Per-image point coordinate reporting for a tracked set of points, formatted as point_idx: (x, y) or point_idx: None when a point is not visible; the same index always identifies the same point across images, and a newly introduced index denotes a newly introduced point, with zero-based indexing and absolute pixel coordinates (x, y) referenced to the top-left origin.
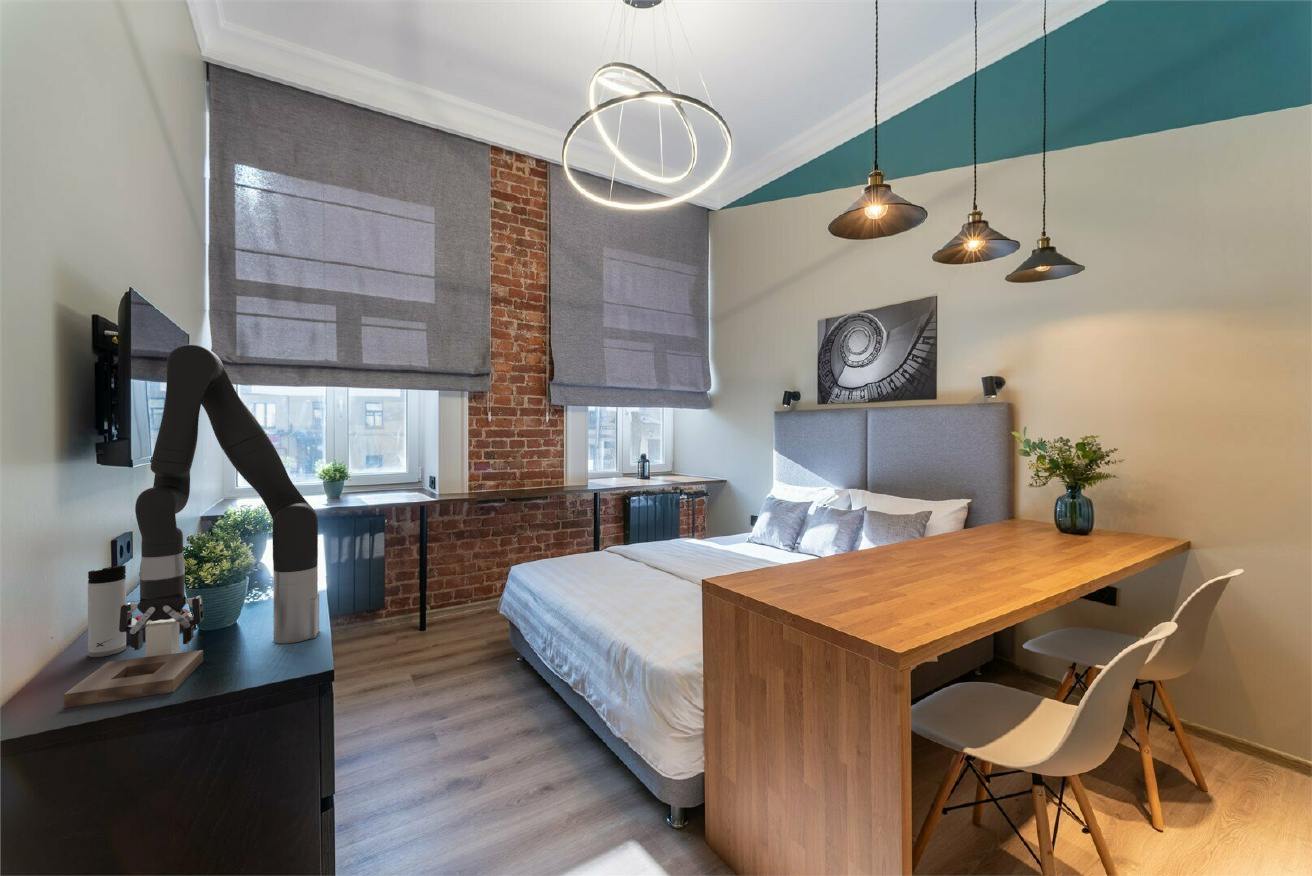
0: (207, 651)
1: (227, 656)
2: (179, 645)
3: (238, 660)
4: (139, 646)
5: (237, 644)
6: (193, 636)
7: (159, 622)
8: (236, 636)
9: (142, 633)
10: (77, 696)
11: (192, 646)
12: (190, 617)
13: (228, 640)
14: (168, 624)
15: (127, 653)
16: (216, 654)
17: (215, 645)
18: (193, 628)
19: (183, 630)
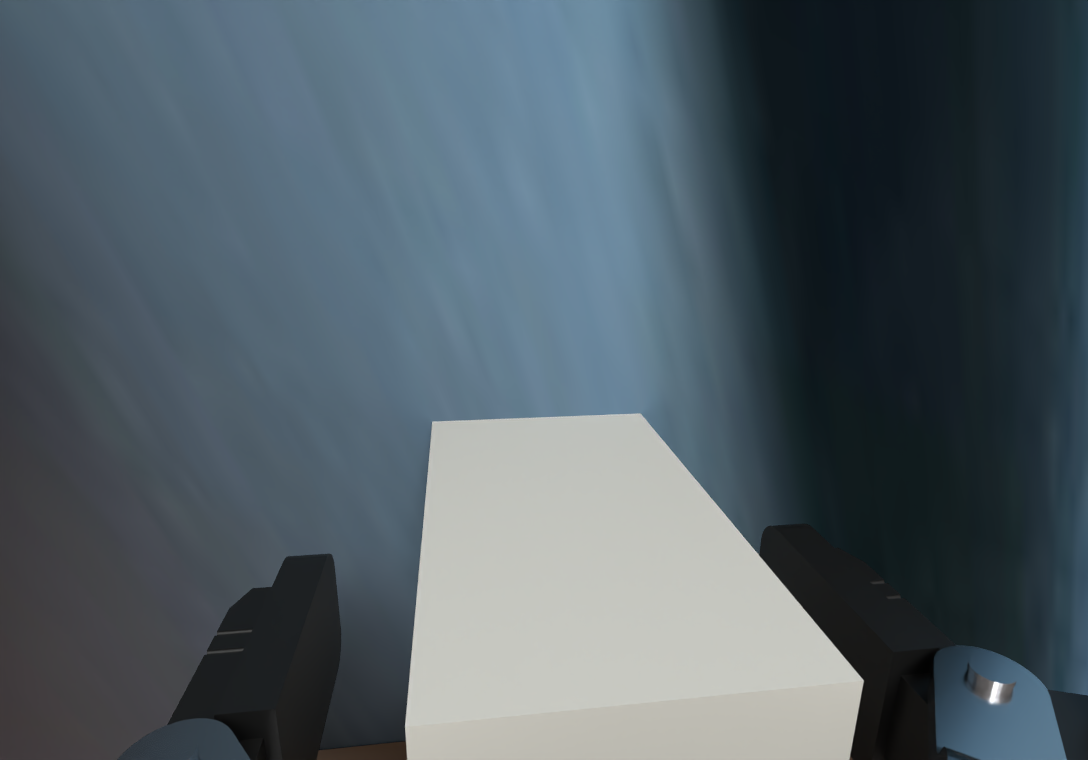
0: (868, 471)
1: (1013, 643)
2: (665, 446)
3: None
4: (332, 645)
5: (1082, 365)
6: (866, 566)
7: None
8: (1083, 60)
9: (289, 681)
10: None
11: (712, 251)
12: (1061, 753)
13: (1014, 187)
14: None
15: (63, 218)
16: (940, 573)
17: (913, 314)
18: (943, 635)
19: (856, 753)
